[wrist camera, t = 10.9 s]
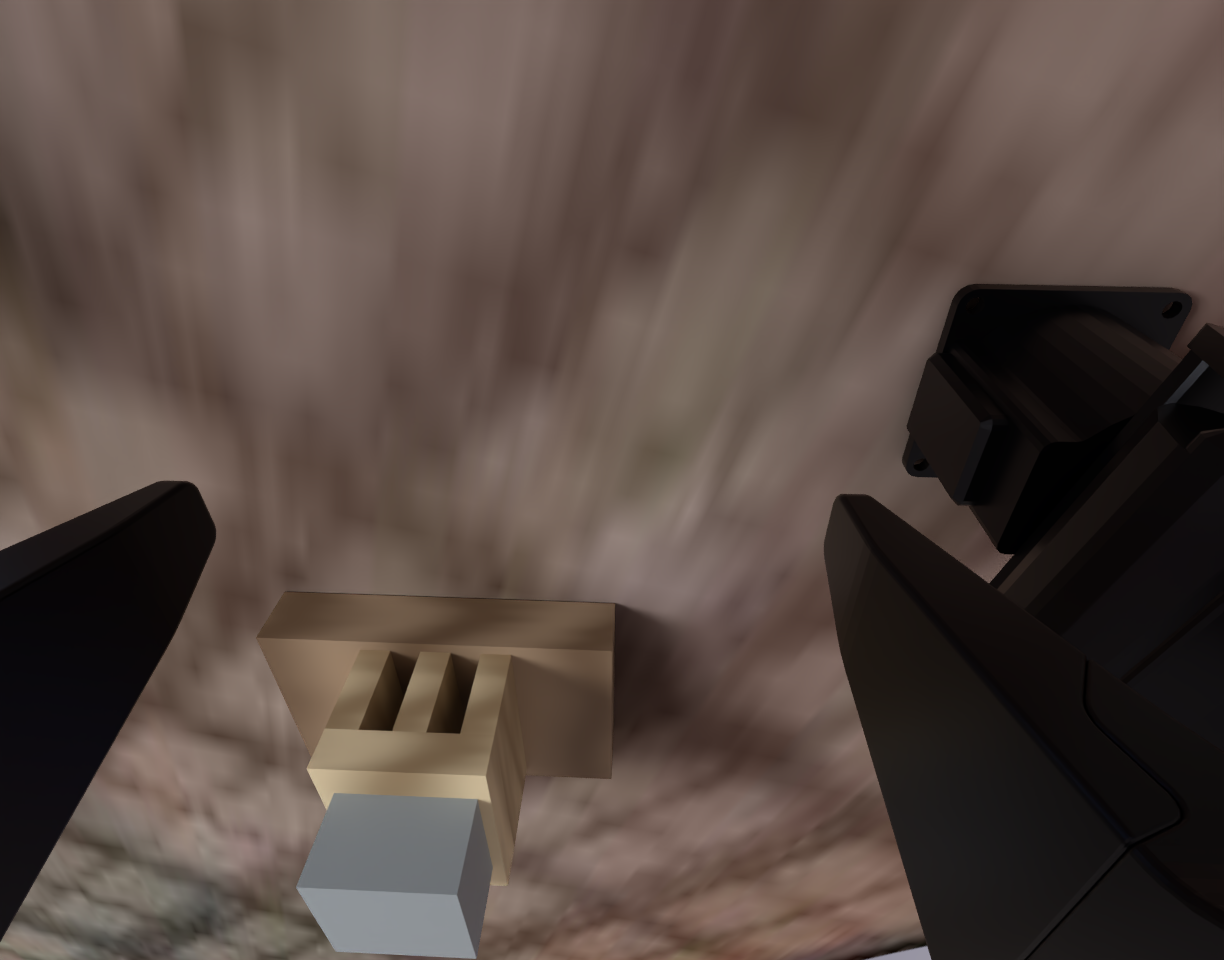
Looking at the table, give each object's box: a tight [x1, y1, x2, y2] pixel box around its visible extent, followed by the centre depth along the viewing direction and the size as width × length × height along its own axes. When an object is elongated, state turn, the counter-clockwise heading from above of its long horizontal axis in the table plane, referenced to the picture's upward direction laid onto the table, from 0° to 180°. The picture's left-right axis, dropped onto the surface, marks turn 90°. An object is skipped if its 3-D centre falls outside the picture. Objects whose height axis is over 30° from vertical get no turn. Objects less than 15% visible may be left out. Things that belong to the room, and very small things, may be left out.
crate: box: [296, 793, 493, 959], centre depth 23 cm, size 5×5×3 cm
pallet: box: [307, 650, 527, 886], centre depth 26 cm, size 6×8×5 cm
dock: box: [256, 592, 615, 779], centre depth 29 cm, size 14×9×2 cm, turn 90°
